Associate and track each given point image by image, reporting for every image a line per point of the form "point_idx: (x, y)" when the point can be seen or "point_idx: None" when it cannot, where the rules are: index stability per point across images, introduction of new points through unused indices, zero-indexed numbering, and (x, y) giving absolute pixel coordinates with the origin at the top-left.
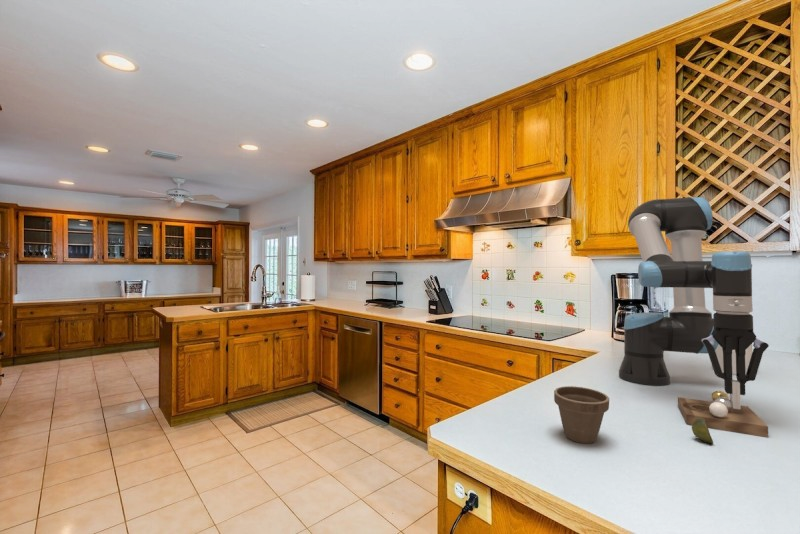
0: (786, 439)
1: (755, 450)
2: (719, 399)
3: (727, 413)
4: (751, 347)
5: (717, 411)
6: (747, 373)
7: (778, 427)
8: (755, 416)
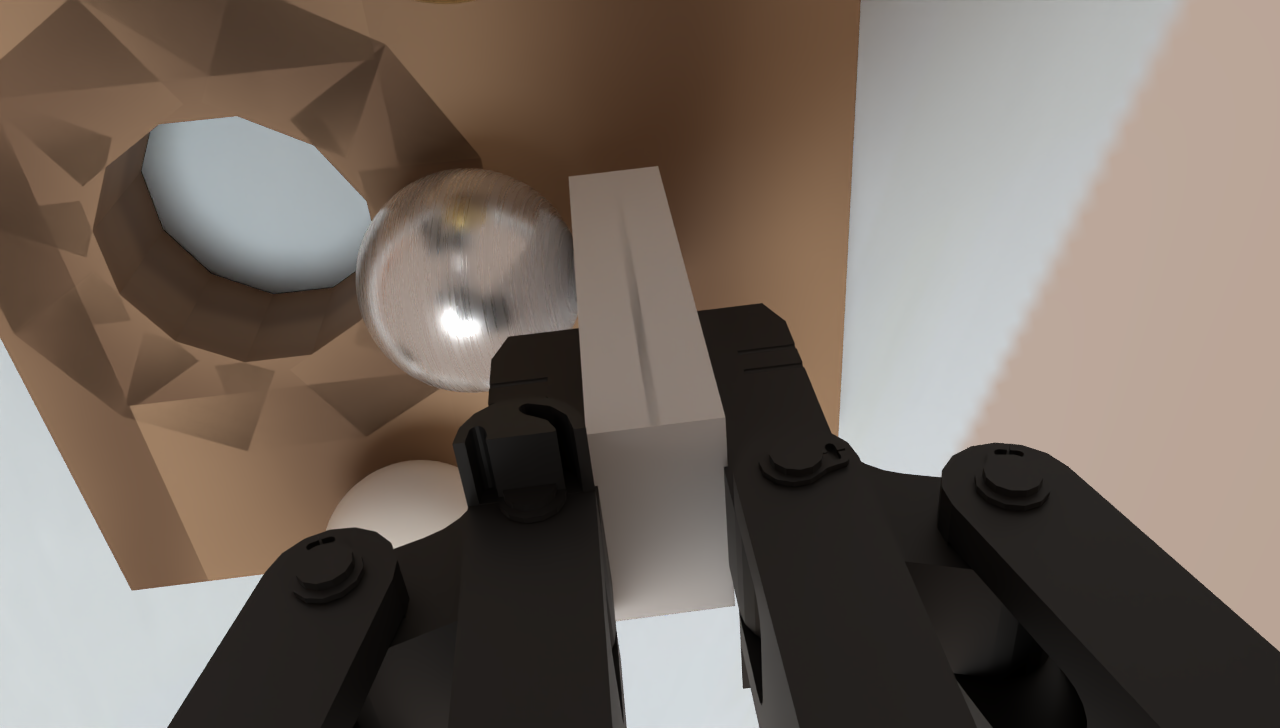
0: (944, 390)
1: (644, 714)
2: (422, 378)
3: None
4: None
5: None
6: (1000, 583)
7: (1036, 33)
8: (818, 233)
